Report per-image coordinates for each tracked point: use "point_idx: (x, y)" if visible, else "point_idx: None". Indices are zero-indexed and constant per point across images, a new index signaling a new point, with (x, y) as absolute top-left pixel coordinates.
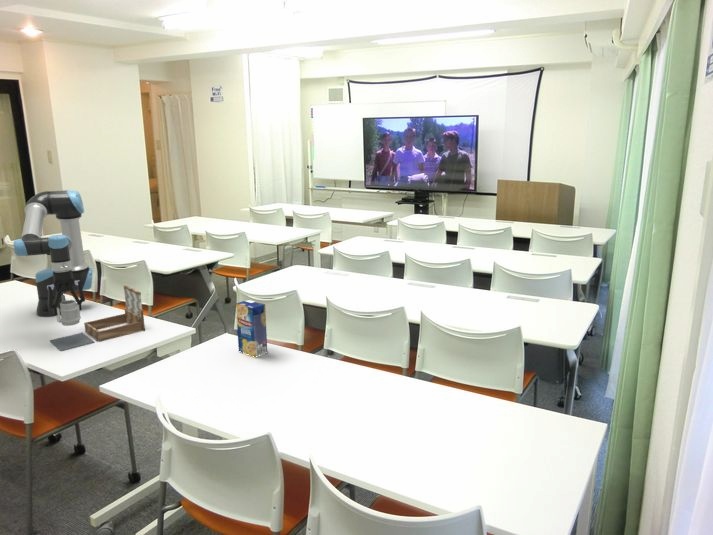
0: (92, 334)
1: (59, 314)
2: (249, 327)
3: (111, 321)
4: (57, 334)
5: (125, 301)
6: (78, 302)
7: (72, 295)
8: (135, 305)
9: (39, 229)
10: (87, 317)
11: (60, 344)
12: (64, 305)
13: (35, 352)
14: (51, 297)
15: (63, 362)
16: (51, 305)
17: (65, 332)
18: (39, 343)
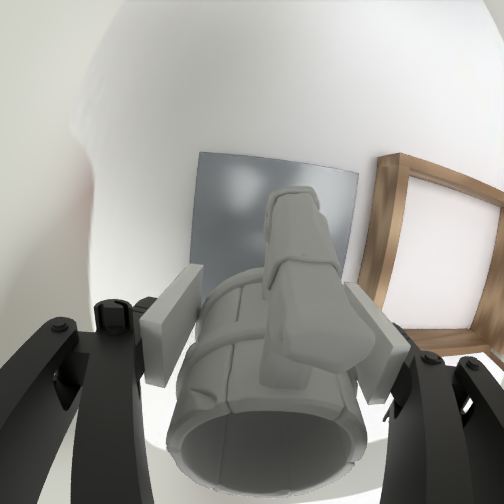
0: (366, 265)
1: (181, 346)
2: None
3: (481, 195)
4: (270, 81)
5: None
6: (394, 415)
7: (419, 447)
8: None
9: None
10: (434, 18)
11: (210, 256)
12: (199, 475)
13: (115, 246)
14: (33, 474)
15: (166, 404)
16: (74, 397)
17: (309, 85)
18: (160, 143)
